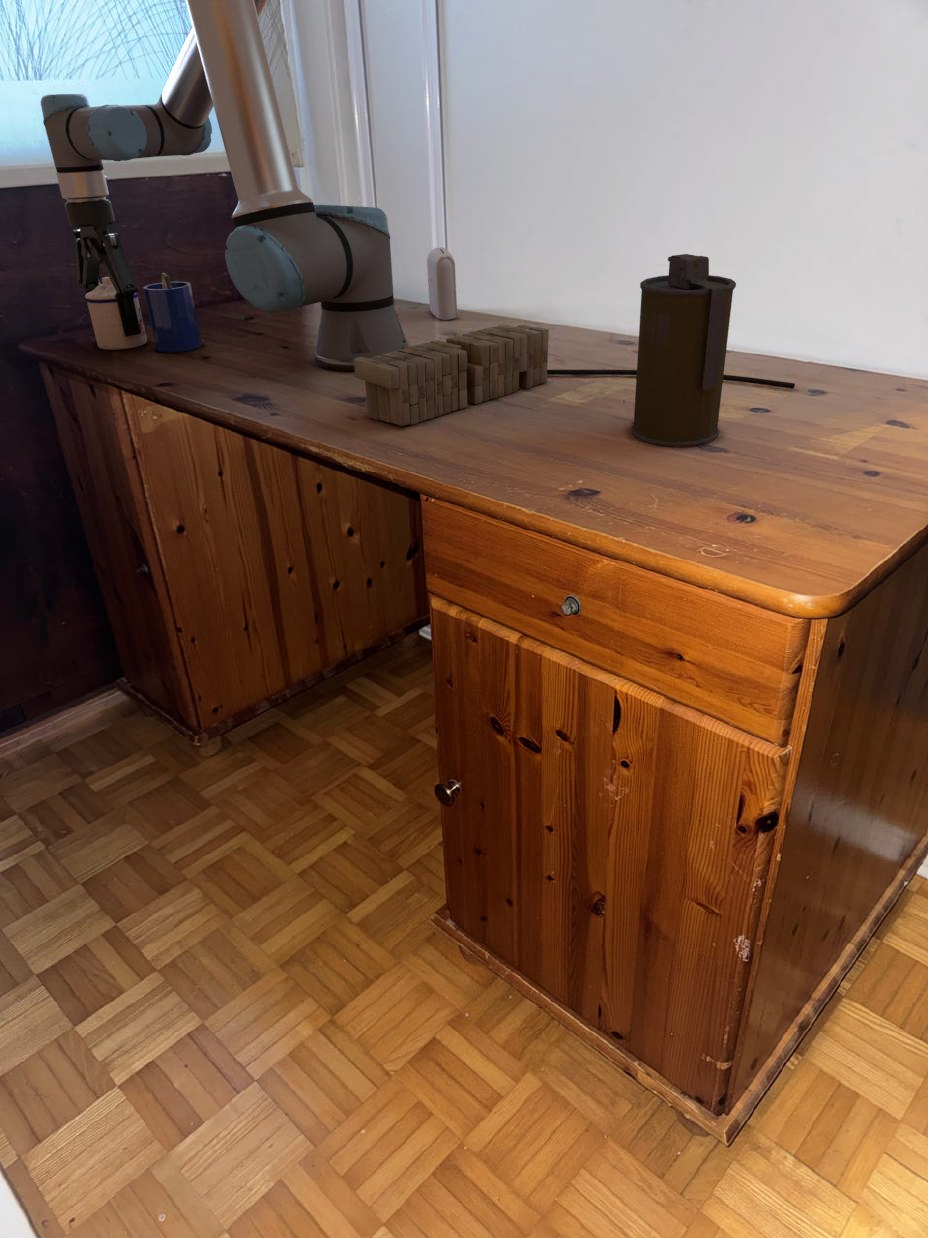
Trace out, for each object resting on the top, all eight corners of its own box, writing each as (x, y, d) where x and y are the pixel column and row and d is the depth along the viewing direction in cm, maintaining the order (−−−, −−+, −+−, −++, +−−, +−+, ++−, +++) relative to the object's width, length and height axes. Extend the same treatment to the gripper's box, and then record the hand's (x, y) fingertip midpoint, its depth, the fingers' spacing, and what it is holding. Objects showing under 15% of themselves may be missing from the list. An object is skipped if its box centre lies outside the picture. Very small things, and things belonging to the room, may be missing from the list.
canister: (614, 428, 108) (623, 255, 98) (684, 414, 112) (699, 247, 102) (666, 454, 100) (681, 268, 90) (739, 438, 103) (762, 258, 93)
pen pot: (209, 346, 156) (198, 284, 150) (169, 354, 151) (156, 291, 146) (188, 340, 161) (176, 280, 155) (149, 348, 156) (135, 286, 151)
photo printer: (427, 311, 175) (424, 245, 169) (448, 309, 176) (445, 243, 170) (437, 321, 167) (434, 252, 160) (459, 319, 167) (457, 250, 161)
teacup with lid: (156, 344, 159) (141, 276, 153) (106, 353, 154) (89, 283, 148) (133, 334, 167) (119, 269, 161) (85, 342, 162) (68, 276, 156)
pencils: (190, 343, 156) (177, 272, 150) (173, 346, 154) (159, 275, 148) (184, 341, 158) (170, 271, 152) (166, 344, 156) (152, 274, 150)
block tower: (510, 379, 133) (356, 418, 115) (510, 322, 128) (351, 353, 111) (548, 388, 127) (393, 431, 110) (550, 328, 123) (389, 363, 106)
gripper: (140, 200, 143) (167, 335, 154) (79, 195, 158) (108, 318, 169) (96, 204, 138) (127, 343, 149) (37, 198, 154) (70, 325, 165)
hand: (117, 330), depth 159 cm, fingers closed on teacup with lid, 12 cm apart
